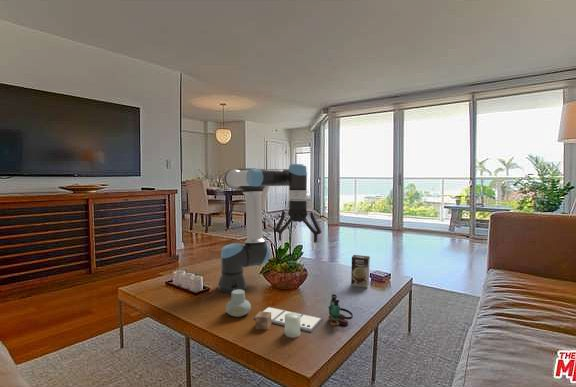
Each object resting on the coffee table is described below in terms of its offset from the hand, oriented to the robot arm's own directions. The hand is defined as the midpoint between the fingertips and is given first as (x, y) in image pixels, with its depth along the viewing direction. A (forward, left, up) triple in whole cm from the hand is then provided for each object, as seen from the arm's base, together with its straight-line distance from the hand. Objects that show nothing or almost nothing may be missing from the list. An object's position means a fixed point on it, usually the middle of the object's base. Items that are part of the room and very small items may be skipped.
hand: (297, 249), depth 139 cm
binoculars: (+19, +1, -29) cm, 35 cm away
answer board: (-1, -7, -29) cm, 30 cm away
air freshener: (-23, -12, -29) cm, 39 cm away
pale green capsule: (+6, -17, -29) cm, 34 cm away
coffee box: (+15, +49, -29) cm, 59 cm away
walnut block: (-7, -17, -29) cm, 34 cm away
